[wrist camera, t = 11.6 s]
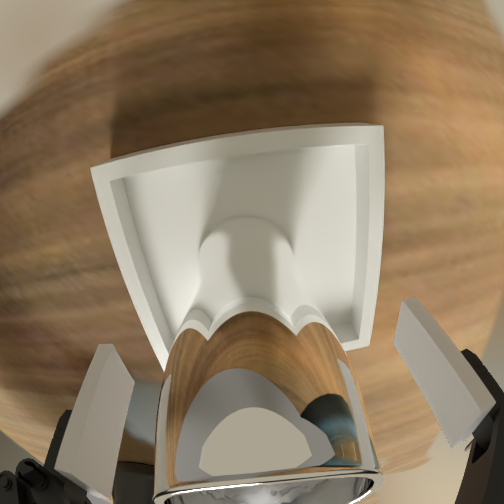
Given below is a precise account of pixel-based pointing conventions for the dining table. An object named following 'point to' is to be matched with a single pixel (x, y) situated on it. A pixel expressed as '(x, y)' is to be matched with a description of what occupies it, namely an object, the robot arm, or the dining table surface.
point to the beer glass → (259, 387)
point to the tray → (251, 205)
